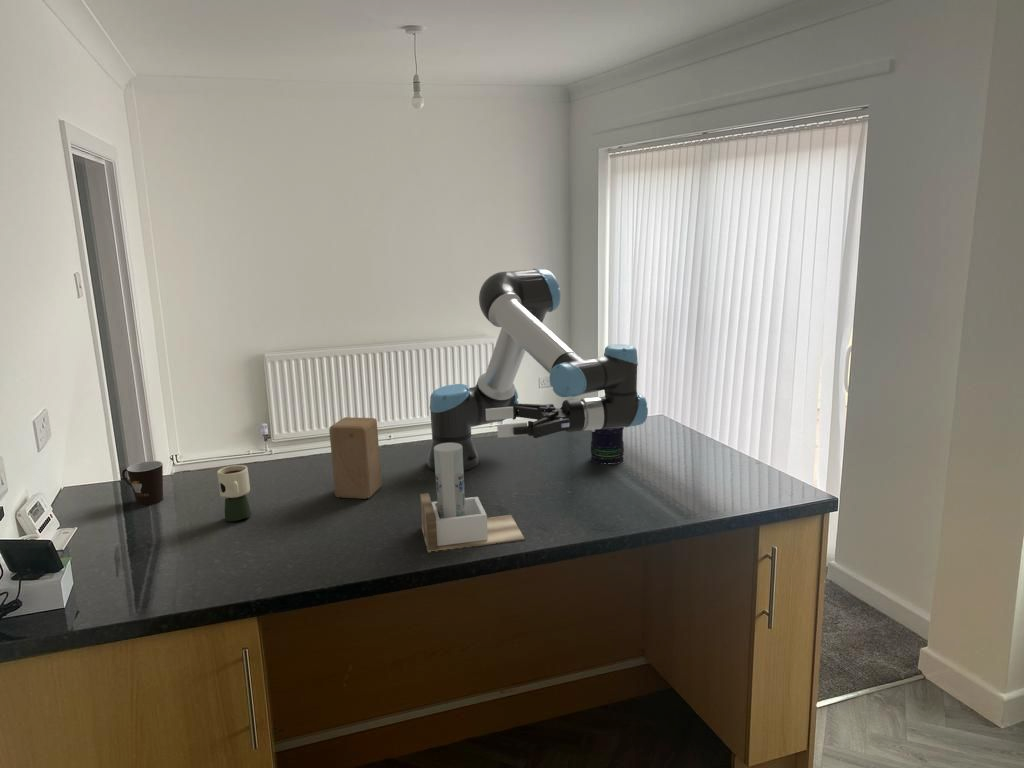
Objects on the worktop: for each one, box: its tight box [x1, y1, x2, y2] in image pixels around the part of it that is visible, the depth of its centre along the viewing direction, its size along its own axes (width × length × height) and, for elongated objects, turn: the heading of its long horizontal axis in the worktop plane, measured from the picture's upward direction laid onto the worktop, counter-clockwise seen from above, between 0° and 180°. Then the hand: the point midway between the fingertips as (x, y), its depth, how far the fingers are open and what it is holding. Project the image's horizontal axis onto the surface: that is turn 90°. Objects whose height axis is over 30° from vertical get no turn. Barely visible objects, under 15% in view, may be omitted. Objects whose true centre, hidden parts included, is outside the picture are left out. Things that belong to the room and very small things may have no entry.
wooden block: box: [329, 416, 383, 500], centre depth 197 cm, size 10×10×20 cm
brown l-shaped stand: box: [419, 492, 525, 553], centre depth 170 cm, size 14×22×8 cm, turn 103°
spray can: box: [434, 443, 466, 519], centre depth 168 cm, size 6×6×20 cm
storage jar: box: [590, 427, 625, 465], centre depth 217 cm, size 10×10×15 cm
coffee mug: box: [121, 460, 164, 506], centre depth 198 cm, size 12×9×10 cm
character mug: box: [216, 464, 252, 522], centre depth 183 cm, size 11×7×13 cm, turn 26°
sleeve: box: [431, 496, 488, 546], centre depth 170 cm, size 12×12×6 cm
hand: (491, 422), depth 166 cm, fingers open, 13 cm apart
